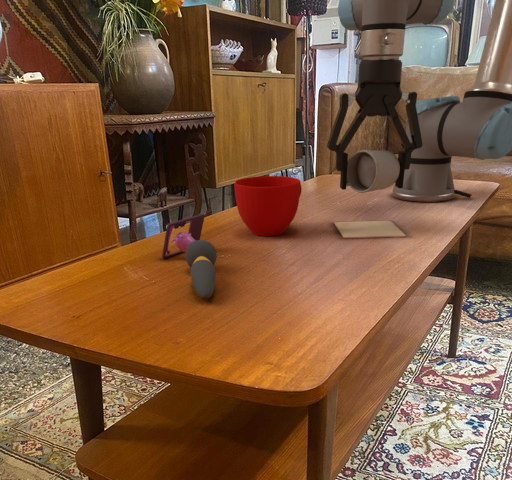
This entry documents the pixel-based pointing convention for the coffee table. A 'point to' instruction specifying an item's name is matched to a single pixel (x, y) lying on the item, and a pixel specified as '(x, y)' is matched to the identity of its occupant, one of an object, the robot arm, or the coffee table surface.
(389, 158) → the ceramic mug
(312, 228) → the coffee table surface
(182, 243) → the purple open frame
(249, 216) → the ceramic cup
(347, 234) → the coaster
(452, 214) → the coffee table surface
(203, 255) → the grey wand massager
